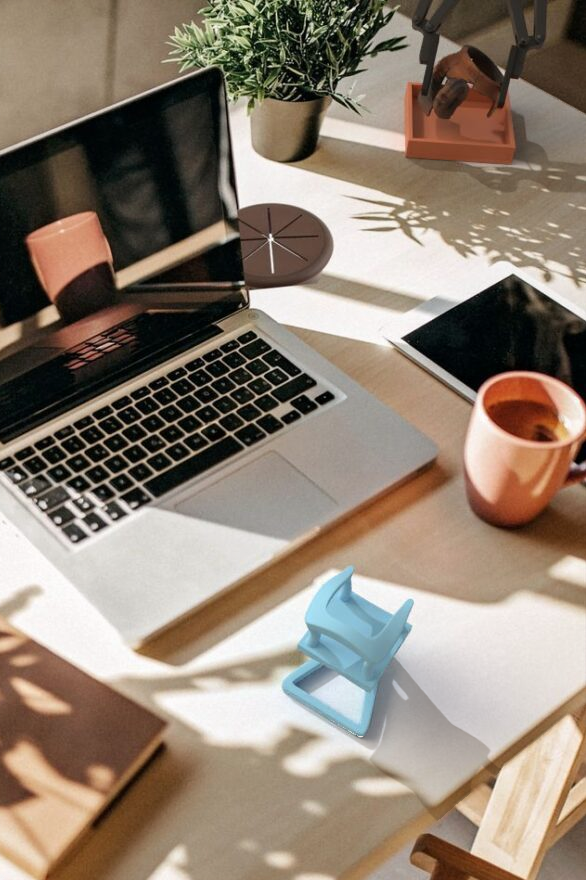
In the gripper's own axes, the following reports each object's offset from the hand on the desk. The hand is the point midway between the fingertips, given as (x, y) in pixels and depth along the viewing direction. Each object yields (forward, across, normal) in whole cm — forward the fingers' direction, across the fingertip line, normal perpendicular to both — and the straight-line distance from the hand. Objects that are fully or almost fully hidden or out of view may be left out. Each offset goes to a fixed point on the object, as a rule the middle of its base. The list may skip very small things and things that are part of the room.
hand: (462, 98), depth 119 cm
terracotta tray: (+2, 0, -7) cm, 7 cm away
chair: (+59, -2, +50) cm, 77 cm away
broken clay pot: (+1, +1, -5) cm, 5 cm away
